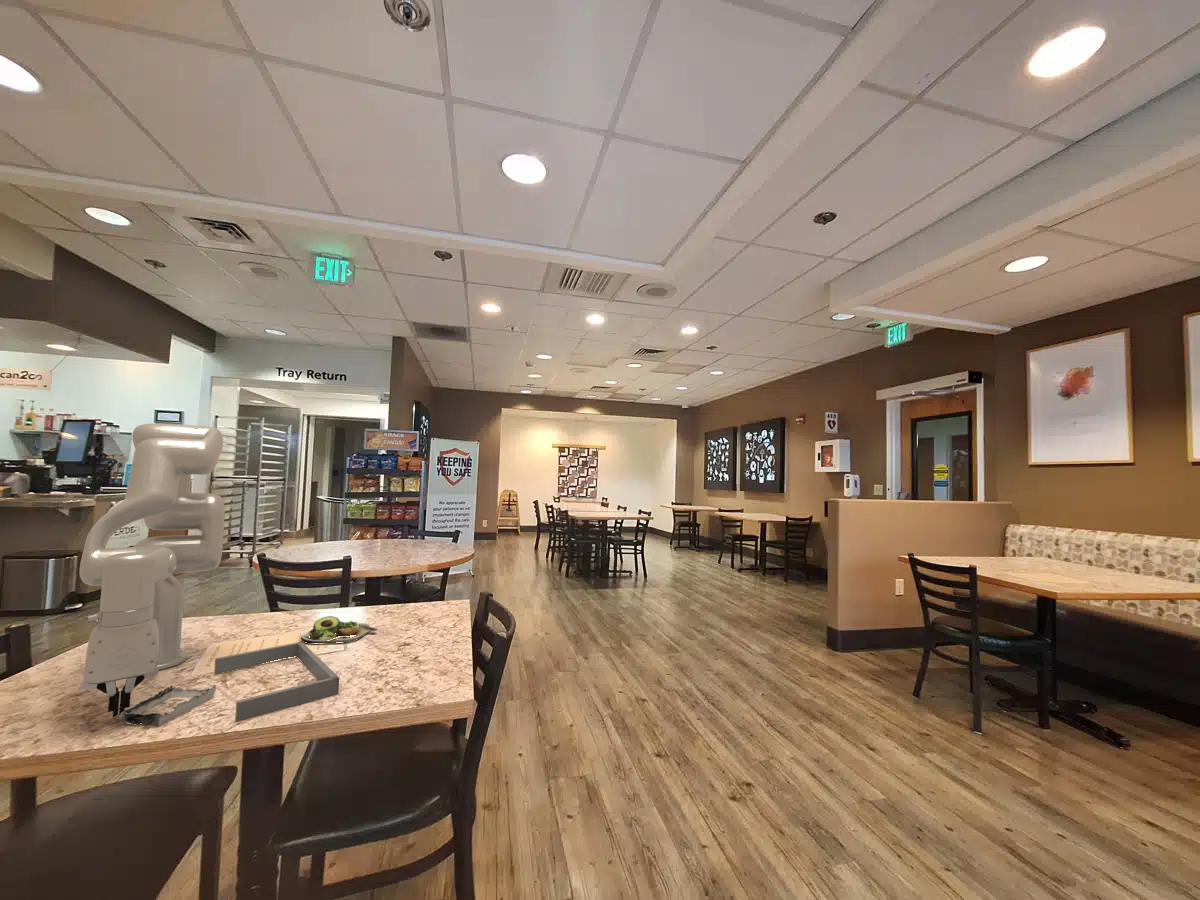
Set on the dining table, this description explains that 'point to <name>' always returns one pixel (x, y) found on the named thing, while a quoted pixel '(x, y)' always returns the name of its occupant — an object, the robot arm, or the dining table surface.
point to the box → (285, 697)
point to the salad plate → (335, 630)
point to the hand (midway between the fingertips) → (118, 713)
